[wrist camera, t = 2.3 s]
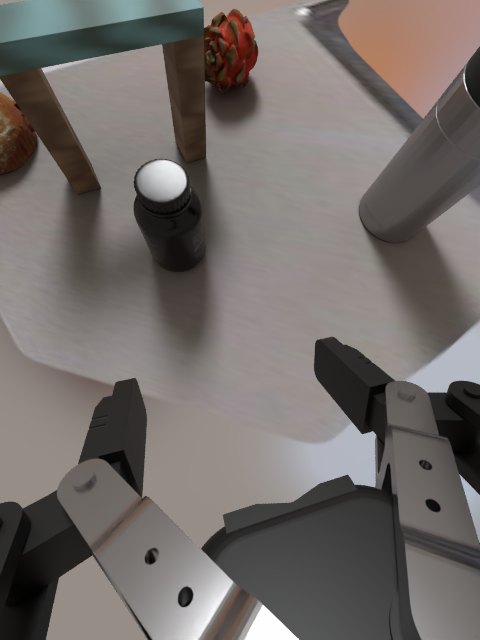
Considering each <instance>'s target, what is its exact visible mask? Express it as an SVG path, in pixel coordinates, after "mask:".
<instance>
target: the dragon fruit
mask: <svg viewBox="0 0 480 640" xmlns="http://www.w3.org/2000/svg"><path fill="white" fill-rule="evenodd" d="M254 38H255V35H254V32H253V29H252V26H251V23H250V21H249V20H248V18H247V17H246V16H245V17H243V15H242V14H241V13H240V12H239V11H238V10H237V9H233V10H232V11H231V12H230V13H229V14H228V16H227V17H226V16H225V15H224V13H222V12H221V13H220V14H218V15H217V16H215V18H213V20H212V23H211V25H209V26H208V27H206V28H204V68H205V81H207V82H210V83H215V85H216V86H218V90H219V91H221V92H225V91H227V90H228V89H229V88H230V86H231V85H236V86H238V87H239V86H241V85H244V86H246V85H247V83H248V78H249V77H248V75H249V71H250V70H251V69H252V68H253V67H254V65H255V64H256V61H257V56H258V46H257V43H256V41H255V40H254ZM244 86H243V87H244Z"/></svg>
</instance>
